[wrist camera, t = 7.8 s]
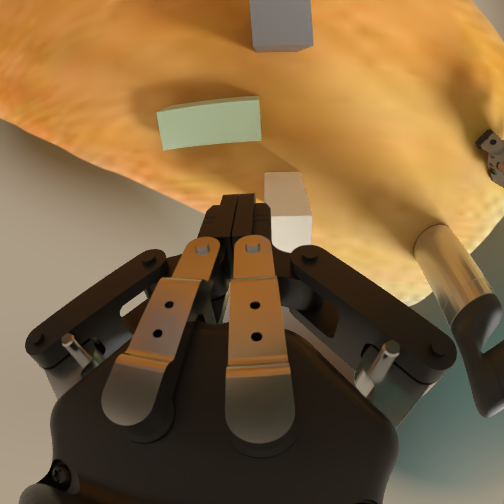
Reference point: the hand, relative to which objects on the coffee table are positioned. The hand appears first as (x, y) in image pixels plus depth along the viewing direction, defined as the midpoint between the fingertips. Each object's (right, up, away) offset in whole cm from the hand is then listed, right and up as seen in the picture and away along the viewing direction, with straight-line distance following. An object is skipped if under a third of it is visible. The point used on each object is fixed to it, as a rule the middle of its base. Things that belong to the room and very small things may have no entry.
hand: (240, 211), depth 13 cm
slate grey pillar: (+3, +24, +12) cm, 28 cm away
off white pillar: (+5, +7, +26) cm, 27 cm away
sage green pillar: (+2, +14, +18) cm, 23 cm away
